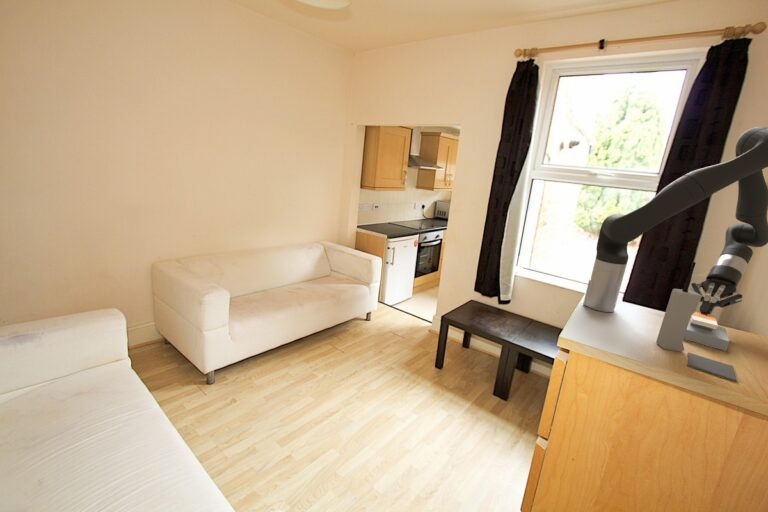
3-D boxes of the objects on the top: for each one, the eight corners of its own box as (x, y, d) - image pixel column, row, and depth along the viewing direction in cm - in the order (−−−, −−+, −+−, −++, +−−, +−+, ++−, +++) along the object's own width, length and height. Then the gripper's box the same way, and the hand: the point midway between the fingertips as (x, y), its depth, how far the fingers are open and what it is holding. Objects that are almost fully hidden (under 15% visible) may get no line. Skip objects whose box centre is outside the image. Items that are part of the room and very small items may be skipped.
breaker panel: (672, 335, 107) (676, 322, 106) (673, 323, 116) (677, 310, 115) (725, 350, 99) (731, 336, 98) (722, 336, 109) (726, 323, 108)
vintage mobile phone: (683, 352, 96) (712, 265, 90) (662, 349, 97) (690, 262, 91) (675, 346, 100) (703, 261, 93) (655, 342, 101) (682, 259, 94)
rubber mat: (687, 366, 89) (688, 364, 89) (687, 353, 96) (688, 352, 95) (736, 382, 83) (737, 380, 83) (732, 367, 90) (733, 366, 90)
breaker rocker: (691, 322, 104) (692, 319, 104) (690, 313, 113) (691, 310, 113) (716, 329, 100) (718, 325, 100) (713, 319, 110) (714, 316, 109)
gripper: (700, 259, 117) (677, 299, 113) (756, 270, 107) (732, 315, 103) (700, 273, 121) (678, 311, 117) (754, 284, 111) (731, 328, 107)
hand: (703, 313), depth 110 cm, fingers closed
